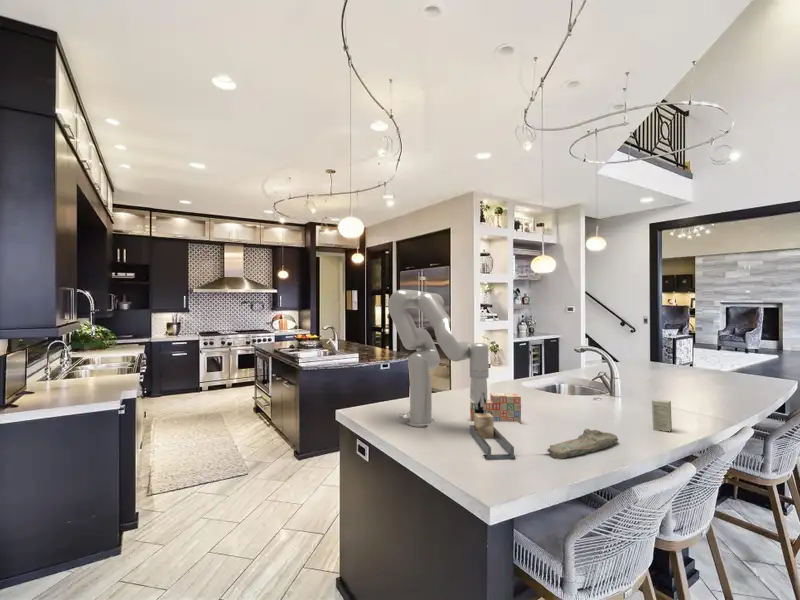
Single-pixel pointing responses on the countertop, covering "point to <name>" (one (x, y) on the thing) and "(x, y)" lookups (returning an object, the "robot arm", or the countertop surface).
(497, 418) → the stack of blocks
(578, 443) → the long grey stone
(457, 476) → the countertop surface
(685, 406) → the countertop surface
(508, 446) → the chute
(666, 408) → the skincare box
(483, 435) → the block
